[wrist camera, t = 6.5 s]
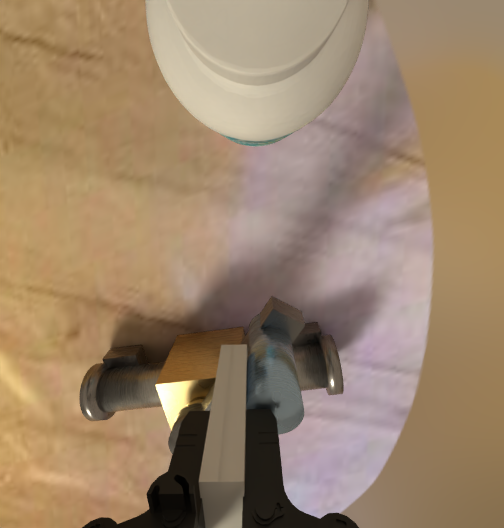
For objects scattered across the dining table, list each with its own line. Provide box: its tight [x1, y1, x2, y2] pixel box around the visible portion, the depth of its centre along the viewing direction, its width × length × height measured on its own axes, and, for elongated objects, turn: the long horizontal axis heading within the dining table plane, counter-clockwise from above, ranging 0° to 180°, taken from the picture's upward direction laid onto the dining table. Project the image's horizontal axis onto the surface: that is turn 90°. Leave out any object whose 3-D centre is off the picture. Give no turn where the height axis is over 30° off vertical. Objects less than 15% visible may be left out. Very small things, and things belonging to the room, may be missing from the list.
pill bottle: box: [146, 0, 369, 146], centre depth 13 cm, size 8×7×14 cm
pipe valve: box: [80, 322, 343, 431], centre depth 24 cm, size 6×21×7 cm, turn 99°
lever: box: [168, 296, 305, 454], centre depth 16 cm, size 13×4×6 cm, turn 151°
